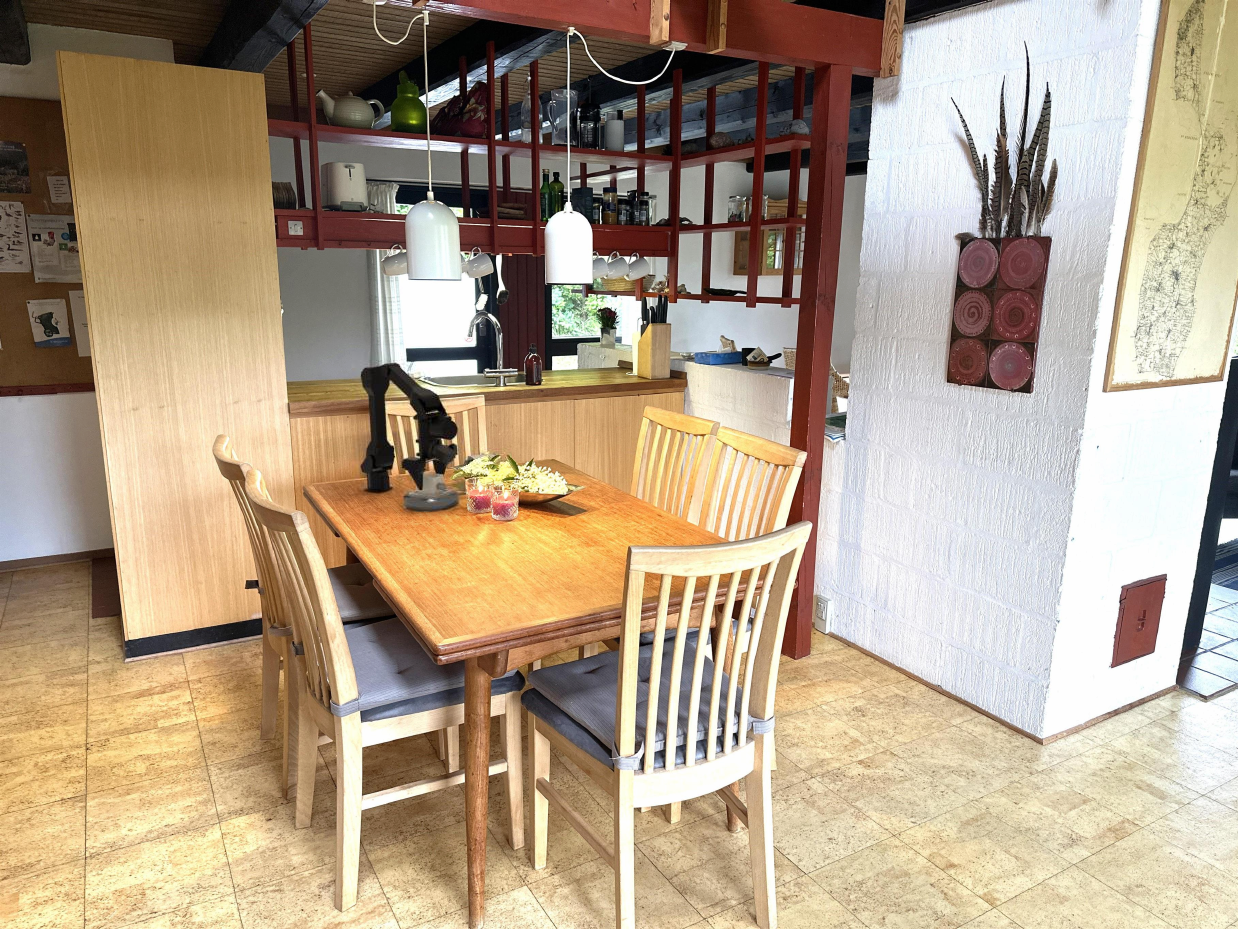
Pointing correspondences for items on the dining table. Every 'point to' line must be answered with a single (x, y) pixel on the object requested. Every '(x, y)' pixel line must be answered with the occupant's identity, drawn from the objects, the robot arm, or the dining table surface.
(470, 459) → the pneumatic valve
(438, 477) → the pump block
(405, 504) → the grey shallow dish
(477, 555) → the dining table surface
